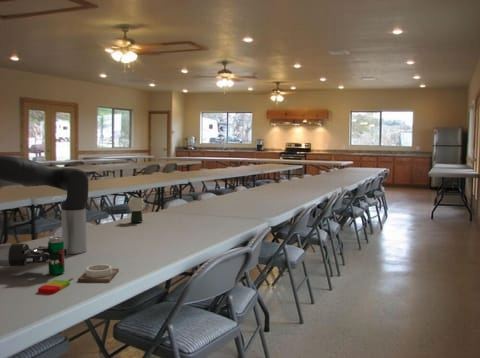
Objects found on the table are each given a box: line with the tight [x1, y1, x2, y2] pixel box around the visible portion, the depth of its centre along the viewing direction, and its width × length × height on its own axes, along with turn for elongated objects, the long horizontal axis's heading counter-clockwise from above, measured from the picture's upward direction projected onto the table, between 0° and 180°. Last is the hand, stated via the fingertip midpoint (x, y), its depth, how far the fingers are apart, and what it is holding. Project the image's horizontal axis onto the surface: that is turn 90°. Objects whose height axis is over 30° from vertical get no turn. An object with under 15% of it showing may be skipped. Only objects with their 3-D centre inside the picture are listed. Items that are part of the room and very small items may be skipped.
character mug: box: [127, 197, 146, 223], centre depth 250 cm, size 11×7×13 cm, turn 66°
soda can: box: [47, 236, 66, 276], centre depth 157 cm, size 5×5×12 cm
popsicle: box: [37, 276, 74, 295], centre depth 144 cm, size 6×15×2 cm, turn 169°
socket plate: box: [77, 263, 119, 283], centre depth 154 cm, size 12×10×3 cm
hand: (64, 254), depth 157 cm, fingers closed on soda can, 5 cm apart
